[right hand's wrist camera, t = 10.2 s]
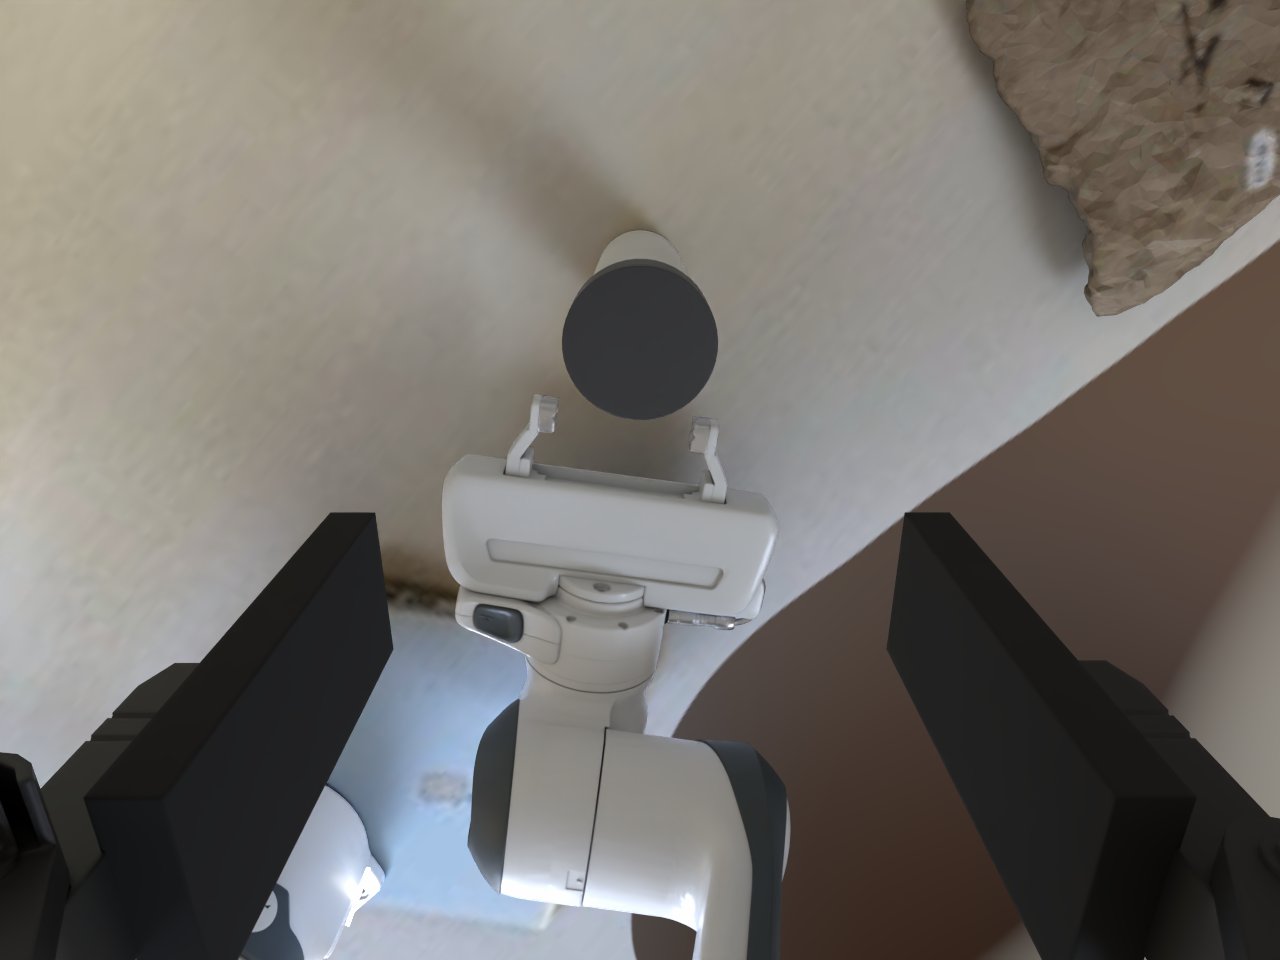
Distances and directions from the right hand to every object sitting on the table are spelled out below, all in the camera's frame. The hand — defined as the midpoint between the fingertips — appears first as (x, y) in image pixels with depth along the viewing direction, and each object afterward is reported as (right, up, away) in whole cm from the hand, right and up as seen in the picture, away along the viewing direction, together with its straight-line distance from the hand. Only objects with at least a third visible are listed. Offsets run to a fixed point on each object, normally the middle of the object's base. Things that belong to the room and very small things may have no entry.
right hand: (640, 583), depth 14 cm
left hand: (-1, +6, +33) cm, 34 cm away
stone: (+28, +24, +33) cm, 49 cm away
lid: (0, +7, +18) cm, 19 cm away
